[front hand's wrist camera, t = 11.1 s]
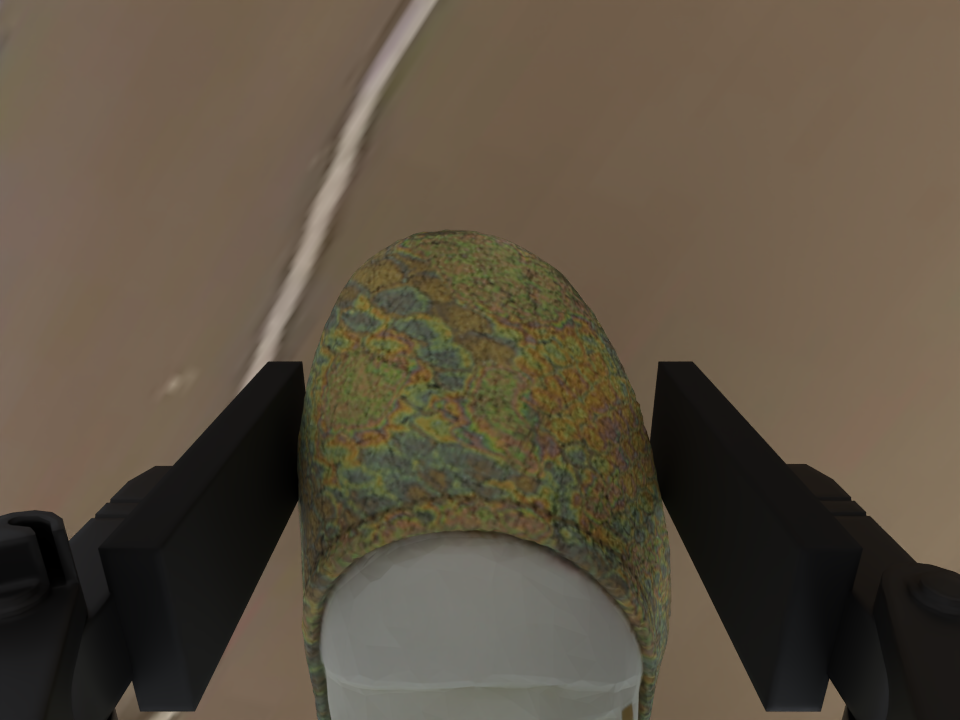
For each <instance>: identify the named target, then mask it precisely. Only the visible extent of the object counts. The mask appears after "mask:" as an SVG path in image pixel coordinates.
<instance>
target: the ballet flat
mask: <svg viewBox="0 0 960 720" xmlns="http://www.w3.org/2000/svg"><path fill="white" fill-rule="evenodd" d="M297 472H298V488H299V502H298V511H299V517H300V532H301V547H302V554H301V556H302V579H303V618H302V631H303V637H304V645H305V653H306V658H307V663H308V667H309V673H310V678H311V682H312V686H313V692H314V695H315V702H316V710H317V717H318V720H649V719H650V715H651V710H652V703H653V697H654V691H655V687H656V682H657V677H658V673H659V669H660V665H661V661H662V658H663V655H664V651H665V648H666V644H667V640H668V632H669V618H670V604H671V579H670V548H669V540H668V532H667V530H666V522H665V518H664V512H663V505H662V498H661V493H660V489H659V485H658V481H657V473H656V468H655V465H654V459H653V452H652V448H651V444H650V441H649V438H648V434H647V431H646V429H645V426H644V423H643V416H642V413H641V410H640V404H639V403H638V402H637V401H636V396H635V393H634V391H633V389H632V387H631V385H630V383H629V380H628V378H627V375H626V373H625V371H624V368H623V366H622V364H621V363H620V360H619V358H618V356H617V354H616V351H615V349H614V347H613V346H612V345H611V343H610V341H609V339H608V338H607V336H606V334H605V332H604V330H603V328H602V327H601V325H600V323H599V322H598V321H597V319H596V316H595V314H594V313H593V312H592V310H591V309H590V308H589V307H588V306H587V305H586V303H585V302H584V301H583V300H582V298H581V297H580V295H579V294H578V292H577V291H576V290H575V289H574V288H573V286H572V285H571V284H570V283H569V281H568V280H567V279H566V278H565V277H564V276H563V275H562V274H561V273H560V272H559V271H558V270H556V269H555V268H554V267H552V266H551V265H549V264H548V263H546V262H545V261H543V260H542V259H540V258H539V257H538V256H536V255H534V254H532V253H531V252H529V251H527V250H525V249H523V248H522V247H520V246H518V245H516V244H514V243H511V242H509V241H507V240H505V239H502V238H499V237H496V236H492V235H486V234H482V233H479V232H474V231H463V230H442V231H438V232H421V233H417V234H413V235H411V236H409V237H407V238H405V239H403V240H398V241H396V242H395V243H393V244H392V245H390V246H389V247H387V248H385V249H383V250H382V251H380V252H379V253H377V254H376V255H374V256H373V257H371V258H370V259H368V260H367V261H366V262H365V263H364V264H363V265H362V266H361V267H360V268H359V269H358V270H357V271H356V272H355V273H354V274H353V276H352V277H351V278H350V280H349V281H348V283H347V284H346V286H345V287H344V289H343V290H342V292H341V294H340V296H339V298H338V300H337V302H336V304H335V306H334V308H333V310H332V312H331V315H330V317H329V319H328V321H327V323H326V324H325V327H324V330H323V333H322V336H321V338H320V342H319V345H318V347H317V350H316V353H315V356H314V360H313V364H312V368H311V372H310V375H309V379H308V383H307V388H306V393H305V397H304V407H303V413H302V419H301V426H300V431H299V437H298V456H297Z"/></svg>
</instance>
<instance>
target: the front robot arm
mask: <svg viewBox="0 0 960 720" xmlns="http://www.w3.org/2000/svg"><path fill="white" fill-rule="evenodd" d="M305 393H306V392H305V383H304V374H303V364H302V362H267V363H266V365H265V366H264V367H263V368H262V369H261V370H260V371H259V372H258V373H257V374H256V376H255V377H254V378H253V379H252V380H251V381H250V382H249V383H248V384H247V385H246V386H245V388H244V389H243V390H242V391H241V392H240V393H239V394H238V395H237V396H236V397H235V399H234V400H233V401H232V402H231V403H230V404H229V405H228V406H227V407H226V408H225V409H224V411H223V412H222V413H221V414H220V415H219V416H218V417H217V418H216V419H215V420H214V422H213V423H212V424H211V425H210V426H209V427H208V428H207V429H206V430H205V431H204V432H203V434H202V435H201V436H200V437H199V438H198V439H197V440H196V441H195V442H194V443H193V445H192V446H191V447H190V448H189V449H188V450H187V451H186V452H185V453H184V454H183V455H182V457H181V458H180V459H179V460H178V461H177V462H176V463H175V464H174V465H173V466H155V467H153V468H151V469H149V470H148V471H146V472H144V473H142V474H141V475H139V476H137V477H135V478H134V479H132V480H130V481H128V482H127V483H126V484H125V485H124V486H123V487H122V488H121V489H120V490H119V491H118V492H117V493H116V494H115V495H114V496H113V497H112V498H111V499H110V500H111V501H110V503H106V504H105V505H104V506H103V507H102V508H101V509H100V510H99V511H98V512H97V513H96V514H95V515H96V516H95V518H91V519H90V520H89V521H88V522H87V523H86V524H85V525H84V526H83V527H82V528H81V529H80V530H79V531H78V532H77V533H76V534H75V535H74V536H73V537H72V538H71V539H70V540H69V541H68V537H67V534H66V530H65V526H64V523H63V519H62V518H60V517H59V516H57V515H56V514H54V513H53V512H46V511H37V510H33V511H24V512H14V513H10V514H6V515H2V516H0V720H118V717H117V714H116V710H115V707H116V705H117V703H118V702H119V700H120V699H121V697H122V695H123V694H124V692H125V691H126V689H127V688H128V686H129V684H130V683H131V681H132V682H133V686H134V690H135V693H136V697H137V701H138V705H139V709H140V711H195V710H196V708H197V706H198V704H199V702H200V700H201V698H202V696H203V694H204V692H205V689H206V687H207V685H208V683H209V681H210V679H211V677H212V675H213V673H214V671H215V669H216V667H217V665H218V663H219V661H220V659H221V657H222V655H223V653H224V651H225V649H226V647H227V645H228V643H229V640H230V638H231V636H232V634H233V632H234V630H235V628H236V626H237V624H238V622H239V620H240V618H241V616H242V614H243V612H244V610H245V608H246V606H247V604H248V602H249V600H250V598H251V596H252V594H253V592H254V589H255V587H256V585H257V583H258V581H259V579H260V577H261V575H262V573H263V571H264V569H265V567H266V565H267V563H268V561H269V559H270V557H271V555H272V553H273V551H274V549H275V547H276V545H277V543H278V540H279V538H280V536H281V534H282V532H283V530H284V528H285V526H286V524H287V522H288V520H289V518H290V516H291V514H292V512H293V510H294V508H295V506H296V504H297V502H298V500H299V488H298V472H297V456H298V437H299V431H300V426H301V419H302V413H303V407H304V397H305ZM650 444H651V448H652V452H653V459H654V465H655V468H656V473H657V481H658V485H659V489H660V493H661V498H662V500H663V502H664V504H665V506H666V508H667V510H668V512H669V514H670V517H671V519H672V521H673V523H674V525H675V527H676V529H677V531H678V533H679V535H680V537H681V539H682V541H683V543H684V545H685V547H686V549H687V551H688V553H689V555H690V557H691V559H692V561H693V563H694V565H695V568H696V570H697V572H698V574H699V576H700V578H701V580H702V582H703V584H704V586H705V588H706V590H707V592H708V594H709V596H710V598H711V600H712V602H713V604H714V606H715V608H716V610H717V612H718V614H719V616H720V619H721V621H722V623H723V625H724V627H725V629H726V631H727V633H728V635H729V637H730V639H731V641H732V643H733V645H734V647H735V649H736V651H737V653H738V655H739V657H740V659H741V661H742V663H743V665H744V667H745V670H746V672H747V674H748V676H749V678H750V680H751V682H752V684H753V686H754V688H755V690H756V692H757V694H758V696H759V698H760V700H761V702H762V704H763V706H764V708H765V710H766V711H780V712H821V708H822V705H823V701H824V697H825V693H826V689H827V685H828V681H829V678H830V680H831V681H832V683H833V685H834V686H835V688H836V689H837V691H838V692H839V694H840V696H841V697H842V699H843V700H844V702H845V703H846V706H845V710H844V714H843V717H842V720H960V574H958V573H956V572H953V571H950V570H947V569H944V568H940V567H937V566H934V565H930V564H922V563H917V562H916V561H915V560H914V559H913V558H912V557H911V556H910V555H909V554H908V553H907V552H906V551H905V550H904V549H903V548H902V547H901V546H900V545H899V544H898V543H897V542H896V541H895V540H894V539H893V538H892V537H891V536H889V535H888V534H887V533H886V532H885V531H884V530H883V529H882V528H881V527H880V526H879V525H878V524H877V523H876V522H875V521H874V520H873V519H872V518H871V517H870V516H866V512H865V511H864V510H863V509H862V508H861V507H860V506H859V505H858V504H857V503H856V502H855V501H851V497H850V496H849V495H848V494H847V493H846V492H845V491H844V490H843V489H842V488H841V487H840V486H839V485H838V484H837V483H836V482H835V481H834V480H833V479H831V478H830V477H828V476H826V475H824V474H823V473H821V472H819V471H817V470H816V469H814V468H812V467H810V466H808V465H807V464H786V463H785V462H784V461H783V460H782V459H781V458H780V457H779V456H778V455H777V453H776V452H775V451H774V450H773V449H772V448H771V447H770V446H769V445H768V444H767V442H766V441H765V440H764V439H763V438H762V437H761V436H760V435H759V434H758V433H757V432H756V430H755V429H754V428H753V427H752V426H751V425H750V424H749V423H748V422H747V421H746V420H745V418H744V417H743V416H742V415H741V414H740V413H739V412H738V411H737V410H736V409H735V407H734V406H733V405H732V404H731V403H730V402H729V401H728V400H727V399H726V398H725V397H724V395H723V394H722V393H721V392H720V391H719V390H718V389H717V388H716V387H715V386H714V384H713V383H712V382H711V381H710V380H709V379H708V378H707V377H706V376H705V375H704V374H703V372H702V371H701V370H700V369H699V368H698V367H697V366H696V365H695V364H694V363H693V362H658V372H657V381H656V390H655V400H654V409H653V418H652V428H651V437H650Z"/></svg>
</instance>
